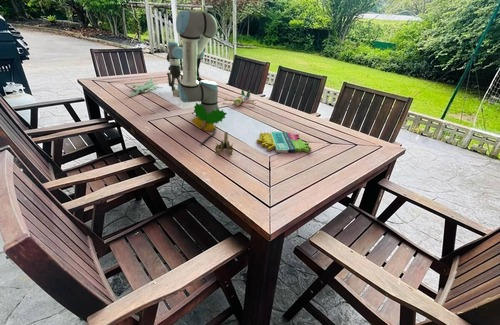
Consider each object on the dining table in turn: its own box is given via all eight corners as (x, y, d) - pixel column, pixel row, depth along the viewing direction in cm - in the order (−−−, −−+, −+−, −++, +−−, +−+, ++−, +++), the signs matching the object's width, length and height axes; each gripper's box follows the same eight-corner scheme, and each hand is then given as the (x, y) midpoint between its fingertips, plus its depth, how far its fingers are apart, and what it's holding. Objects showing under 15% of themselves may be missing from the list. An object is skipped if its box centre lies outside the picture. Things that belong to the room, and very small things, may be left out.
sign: (313, 150, 142) (258, 149, 139) (312, 153, 143) (258, 152, 140) (301, 132, 164) (254, 130, 161) (301, 134, 165) (254, 133, 162)
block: (176, 95, 208) (175, 89, 206) (180, 95, 208) (180, 89, 205) (173, 96, 204) (173, 90, 202) (178, 97, 204) (177, 90, 201)
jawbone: (234, 135, 144) (233, 125, 135) (233, 160, 138) (232, 151, 129) (217, 135, 144) (216, 125, 135) (216, 160, 138) (214, 150, 129)
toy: (261, 91, 228) (254, 99, 202) (261, 99, 231) (253, 108, 205) (231, 87, 233) (220, 95, 207) (230, 95, 236) (219, 104, 210)
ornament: (218, 133, 171) (224, 110, 169) (221, 134, 163) (227, 111, 161) (186, 125, 162) (192, 101, 160) (189, 126, 155) (195, 101, 153)
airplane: (123, 87, 237) (120, 75, 231) (158, 84, 250) (157, 74, 245) (127, 99, 208) (125, 87, 203) (167, 96, 221) (166, 84, 216)
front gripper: (161, 64, 193) (164, 95, 204) (183, 66, 190) (185, 98, 201) (166, 62, 199) (169, 93, 211) (187, 65, 196) (189, 95, 208)
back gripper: (164, 61, 225) (166, 79, 233) (184, 63, 222) (185, 82, 229) (170, 59, 235) (172, 77, 242) (190, 61, 231) (190, 79, 239)
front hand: (177, 95), depth 206 cm, fingers closed on block, 4 cm apart
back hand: (179, 79), depth 238 cm, fingers open, 9 cm apart
